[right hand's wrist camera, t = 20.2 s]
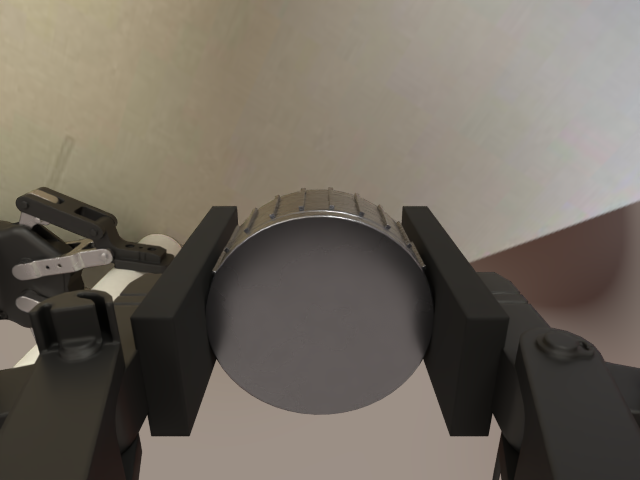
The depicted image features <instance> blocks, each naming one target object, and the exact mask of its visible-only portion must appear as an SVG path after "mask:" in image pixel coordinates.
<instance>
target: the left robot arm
mask: <svg viewBox="0 0 640 480" xmlns="http://www.w3.org/2000/svg"><path fill="white" fill-rule="evenodd" d="M16 206H17V208H18V209H19V210H20V211H21V216H20V221H19V222H17V223H10V222H7V221H0V320H3V319H7V320H11V321H14V322H16V323H18V324H19V325H21V326H23V327H27V328H30V329H31V331H32V333H33V336H34V332H33V328H32V325H31V321H30V317H29V314H28V312H29V311H30V310H31V309H32V308H34V307H35V306H36V305H37V304H39V303H41V302H43V301H44V300H46V299H48V298H50V297H53V296H56V295H59V294H62V293H66V292H71V291H77V290H91V289H88V288H86V287H84V283H83V280H82V277H81V273H82V269H83V268H86V267H93V266H100V265H107V264H109V263H115V268H117V269H124V270H131V271H139V272H146V273H154V274H163V272H164V271H165V270H166V268H167V267H168V266H169V264H170V263H171V262H172V260H173V259H174V255H173V254H169V253H167V249H165V248H163V247H161V246H155V245H148V244H147V245H146V244H141V243H134V242H127V241H125V240H123V239H122V238H121V237H120V236H119V234H118V232H117V229H116V226H117V219H116V217H115V216H114V215H112V214H110V213H107V212H105V211H103V210H100V209H98V208H95V207H93V206H90V205H88V204H85V203H83V202H81V201H78V200H76V199H73V198H71V197H68V196H66V195H64V194H61V193H59V192H56V191H54V190H51V189H49V188H46V187H40V188H38V189H36V190H33V191H31V192H28V193H26V194H25V195H23V196H21V197H19V198H17V200H16ZM50 223H51V224H53V225H56V226H58V227H61V228H63V229H66V230H68V231H71V232H73V233H76V234H78V235H81V236H83V237H86V238H88V239H84V240H77V241H70V242H64V241H63V240H61V239H60V238H59V237H57V236H56V235H55V234H53V233H52V232H51V231H49V230H48V229H47V228H45V227H44V226H43V225H48V224H50ZM34 338H35V336H34ZM35 340H36V339H35Z"/></svg>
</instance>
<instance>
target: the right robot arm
mask: <svg viewBox="0 0 640 480" xmlns="http://www.w3.org/2000/svg"><path fill="white" fill-rule="evenodd" d="M237 225H238V215H237V206H213V207H212V208H211V209H210V211H209V212H208V213H207V215H206V216H205V217H204V219H203V220H202V221H201V223H200V224H199V225H198V227H197V228H196V229H195V231H194V232H193V233H192V235H191V236H190V237H189V239H188V240H187V242H186V243H185V244H184V246H183V247H182V248H181V250H180V251H179V252H178V254H177V255H176V256H175V258H174V259H173V260H172V262H171V263H170V264H169V266H168V267H167V268H166V270H165V271H164V272H163V274H144V275H142V276H141V277H139V278H137V279H135V280H134V281H132V282H130V283H129V284H128V285H127V286H126V287H125V288H124V290H123V291H122V292H121V293H120V296H118V297H117V298H116V299H115V300H114V301H113V298H112V296H111V295H110V294H108V293H107V292H105V291H100V290H95V289H92V290H77V291H71V292H66V293H62V294H59V295H56V296H53V297H50V298H48V299H46V300H44V301H43V302H41V303H39V304H37V305H36V306H35V307H34V308H32V309H31V310H30V311H29V312H28V314H29V317H30V321H31V325H32V328H33V332H34V336H35V339H36V343H37V346H38V350H39V356H38V358H37V360H36V362H35V363H34V364H31V365H26V366H21V367H16V368H11V369H5V370H0V480H139V472H140V464H141V456H142V449H141V442H140V437H139V431H140V428H141V426H142V424H143V422H144V420H145V418H146V416H147V415H148V420H149V426H150V431H151V436H190V433H191V430H192V427H193V425H194V422H195V419H196V416H197V413H198V410H199V407H200V404H201V402H202V399H203V396H204V393H205V390H206V387H207V384H208V382H209V379H210V376H211V373H212V370H213V367H214V364H215V362H216V357H215V355H214V353H213V351H212V348H211V346H210V343H209V340H208V335H207V326H206V317H205V303H206V297H207V292H208V289H209V286H210V283H211V280H212V278H213V276H214V275H211V273H212V270H213V269H214V267H215V265H216V263H217V261H218V259H219V257H220V255H221V253H222V251H223V249H224V247H225V246H226V245H227V243H228V241H229V239H230V237H231V235H232V233H233V231H234V229H235V228H236V226H237ZM402 227H403V229H404V230H405V232H406V234H407V236H408V238H409V240H410V242H413V243H414V245H415V247H416V249H417V251H418V253H419V255H420V257H421V259H422V261H423V263H424V265H425V267H426V270H424V273H425V275H426V277H427V279H428V282H429V284H430V287H431V290H432V294H433V299H434V306H435V313H434V323H433V332H432V339H431V342H430V345H429V347H428V350H427V352H426V354H425V356H424V358H423V359H424V362H425V365H426V368H427V371H428V374H429V377H430V380H431V382H432V385H433V388H434V391H435V394H436V397H437V400H438V402H439V405H440V408H441V411H442V414H443V417H444V420H445V423H446V426H447V428H448V431H449V434H450V436H488V435H489V430H490V424H491V419H492V413H493V415H494V417H495V418H496V421H497V423H498V425H499V427H500V429H501V431H502V432H501V437H500V442H499V448H498V453H497V458H496V463H495V468H494V474H493V480H499V477H500V473H501V479H502V480H640V368H635V367H629V366H624V365H619V364H613V363H609V362H605V361H604V359H603V357H602V355H601V353H600V352H599V351H598V350H597V348H596V347H595V346H594V345H593V344H592V343H590V342H588V341H587V340H585V339H584V338H582V337H580V336H578V335H575V334H573V333H570V332H568V331H564V330H560V329H555V328H551V327H550V326H549V325H548V324H547V323H546V321H545V320H544V319H543V318H542V317H541V316H540V314H539V313H538V312H537V311H536V310H535V309H534V308H533V307H532V305H531V304H528V301H527V300H526V298H525V297H524V296H523V295H522V294H520V292H519V290H518V289H517V288H516V287H515V286H514V285H513V284H512V282H511V281H509V280H507V279H506V278H504V277H502V276H500V275H499V274H497V273H495V272H475V270H474V269H473V267H472V266H471V265H470V263H469V262H468V261H467V259H466V258H465V257H464V255H463V254H462V253H461V251H460V250H459V249H458V247H457V246H456V245H455V243H454V242H453V241H452V239H451V238H450V237H449V235H448V234H447V233H446V231H445V230H444V228H443V227H442V226H441V224H440V223H439V222H438V220H437V219H436V218H435V216H434V215H433V214H432V212H431V211H430V210H429V208H428V207H427V206H403V211H402Z"/></svg>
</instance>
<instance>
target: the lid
mask: <svg viewBox="0 0 640 480" xmlns="http://www.w3.org/2000/svg"><path fill="white" fill-rule="evenodd" d="M424 270H426V267H425V265H424V263H423V261H422V259H421V257H420V255H419V253H418V251H417V249H416V247H415V245H414V243H413V242H410V240H409V238H408V236H407V234H406V232H405V230H404V229H403V227H402V225H401V223H400V222H399V221H398V222H397V223H396V222H395V221H394V220H393V219H392V218H391V217H390V216H389V215H388V214H387V213H386V212H385V211H384V209H383V207H382V206H381V205H378V207H377V206H376V205H374V204H372V203H370V202H369V201H367V200H365V199H363V198H360V195H359V194H357V193H355V195H352V194H348V193H344V192H340V191H333V188H328V190H307V191H306V189H305V188H302V189H301V191H300V192H295V193H292V194H288V195H285V196H282V197H280V196H279V195H277V196H275V199H274V200H273V201H271V202H269V203H267V204H266V205H264V206H262V207H261V208H259V209H258V210H257V208H255V209H253V210H252V213H251V215H250V216H249V217H248V219H247V220H246V221H245V222H244V223H243V224H242V225H241V226H240V227H239V226H238V225H237V226H236V228H235V229H234V231H233V233H232V235H231V237H230V239H229V241H228V243H227V245H226V246H225V247H224V249H223V251H222V253H221V255H220V257H219V259H218V261H217V263H216V265H215V267H214V269H213V270H212V273H211V275H214V276H213V278H212V280H211V283H210V286H209V289H208V292H207V297H206V303H205V317H206V326H207V335H208V340H209V343H210V346H211V348H212V351H213V353H214V355H215V357H216V359H217V360H218V362H219V364H220V365H221V367H222V368H223V369H224V371H225V372H226V373H227V374H228V375H229V377H230V378H231V379H232V380H233V381H234V382H235V383H236V384H238V385H239V386H240V387H241V388H242V389H244V390H245V391H246V392H248V393H249V394H251V395H252V396H254V397H256V398H257V399H259V400H261V401H263V402H265V403H267V404H270V405H272V406H274V407H277V408H281V409H284V410H287V411H292V412H297V413H303V414H315V415H319V414H336V413H343V412H348V411H352V410H356V409H359V408H362V407H365V406H368V405H370V404H372V403H374V402H376V401H379V400H381V399H382V398H384V397H386V396H387V395H389V394H391V393H392V392H393V391H395V390H396V389H397V388H398V387H400V386H401V385H402V384H403V383H404V382H405V381H406V380H407V379H408V378H409V377H410V376H411V375H412V374H413V373H414V371H415V370H416V369H417V367H418V366H419V365H420V363H421V361H422V359H423V358H424V356H425V354H426V352H427V350H428V347H429V345H430V342H431V339H432V332H433V323H434V313H435V306H434V299H433V294H432V290H431V287H430V284H429V282H428V279H427V277H426V275H425V273H424Z"/></svg>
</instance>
